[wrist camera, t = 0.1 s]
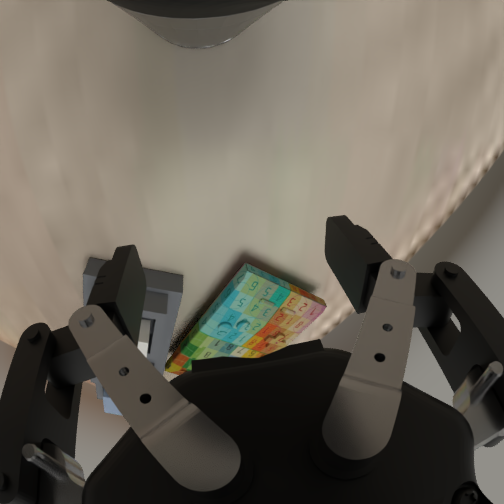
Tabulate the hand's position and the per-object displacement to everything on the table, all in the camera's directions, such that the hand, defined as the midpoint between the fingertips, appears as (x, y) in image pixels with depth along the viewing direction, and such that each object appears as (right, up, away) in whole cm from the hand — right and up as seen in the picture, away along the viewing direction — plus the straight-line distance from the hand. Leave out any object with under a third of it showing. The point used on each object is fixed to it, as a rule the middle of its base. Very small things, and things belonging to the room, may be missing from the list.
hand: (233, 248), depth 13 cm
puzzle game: (-1, -9, +28) cm, 30 cm away
